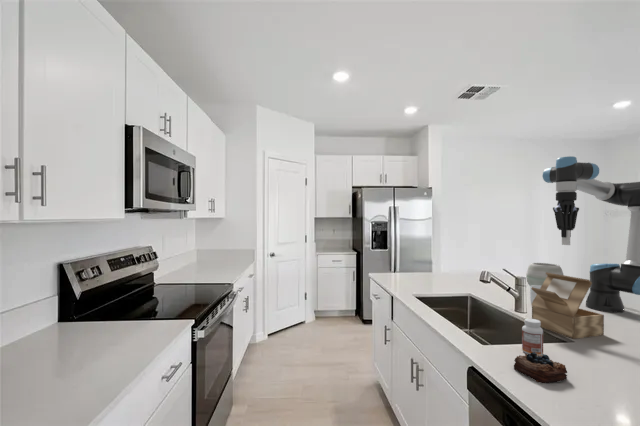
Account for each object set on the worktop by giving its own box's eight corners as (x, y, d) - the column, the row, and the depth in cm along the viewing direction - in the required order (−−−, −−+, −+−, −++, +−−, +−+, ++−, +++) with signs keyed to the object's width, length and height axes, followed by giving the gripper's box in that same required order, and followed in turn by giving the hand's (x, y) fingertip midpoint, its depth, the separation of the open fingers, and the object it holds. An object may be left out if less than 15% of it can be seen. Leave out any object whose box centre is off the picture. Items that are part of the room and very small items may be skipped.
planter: (572, 312, 164) (572, 266, 164) (538, 312, 164) (539, 266, 164) (549, 303, 180) (550, 262, 180) (519, 303, 180) (519, 262, 181)
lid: (549, 275, 148) (536, 263, 146) (592, 282, 131) (578, 269, 129) (531, 305, 146) (518, 293, 144) (573, 317, 128) (559, 304, 126)
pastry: (543, 386, 92) (543, 365, 92) (507, 367, 104) (507, 348, 104) (573, 381, 96) (573, 360, 96) (534, 363, 107) (534, 345, 107)
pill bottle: (529, 347, 119) (529, 316, 119) (547, 354, 114) (547, 321, 114) (518, 350, 116) (518, 319, 116) (536, 357, 111) (536, 324, 111)
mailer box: (559, 321, 150) (559, 303, 150) (603, 335, 133) (603, 314, 133) (531, 324, 146) (531, 305, 146) (573, 338, 128) (573, 318, 128)
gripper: (568, 192, 154) (568, 243, 154) (546, 192, 151) (546, 244, 150) (585, 191, 147) (585, 245, 147) (563, 190, 143) (563, 245, 143)
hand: (566, 244), depth 149 cm, fingers closed
